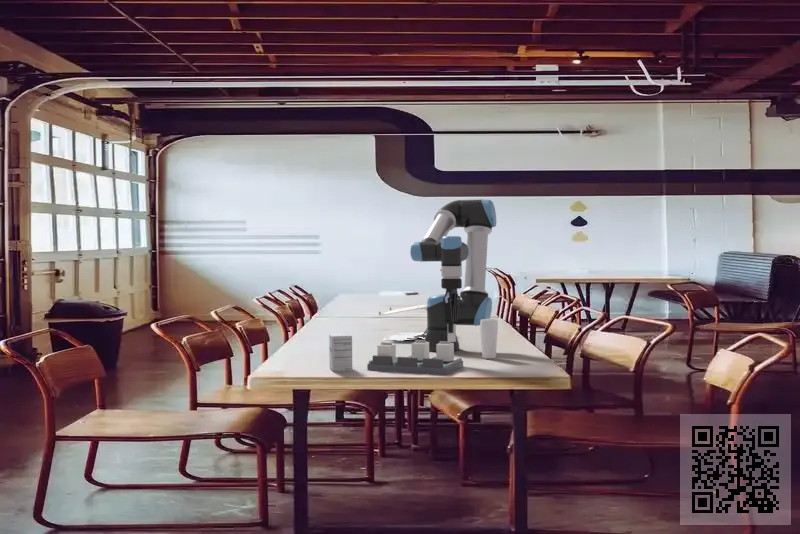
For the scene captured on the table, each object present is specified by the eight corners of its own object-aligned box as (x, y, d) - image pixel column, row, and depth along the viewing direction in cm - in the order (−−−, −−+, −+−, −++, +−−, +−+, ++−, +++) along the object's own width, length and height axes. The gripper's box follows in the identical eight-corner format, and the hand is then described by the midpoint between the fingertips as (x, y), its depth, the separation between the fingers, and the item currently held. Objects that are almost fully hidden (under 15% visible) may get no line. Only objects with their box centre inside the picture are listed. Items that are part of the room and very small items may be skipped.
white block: (383, 360, 273) (382, 341, 272) (395, 360, 271) (395, 342, 271) (377, 362, 268) (377, 343, 268) (390, 362, 266) (390, 343, 266)
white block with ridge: (416, 357, 278) (416, 339, 277) (429, 358, 276) (429, 339, 276) (411, 359, 273) (411, 341, 273) (424, 360, 271) (424, 341, 271)
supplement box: (329, 368, 271) (328, 333, 270) (349, 367, 272) (349, 332, 272) (332, 372, 263) (331, 336, 263) (352, 371, 265) (352, 335, 265)
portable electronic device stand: (428, 342, 339) (428, 307, 338) (378, 341, 344) (377, 307, 344) (438, 335, 364) (438, 303, 363) (391, 334, 369) (391, 302, 368)
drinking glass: (490, 360, 286) (490, 320, 285) (476, 358, 291) (476, 319, 290) (501, 358, 291) (501, 319, 290) (487, 356, 295) (487, 318, 295)
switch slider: (440, 358, 274) (440, 340, 274) (453, 359, 272) (453, 340, 272) (436, 361, 270) (436, 342, 269) (449, 361, 268) (449, 342, 267)
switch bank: (387, 361, 284) (386, 348, 284) (463, 366, 273) (463, 352, 272) (367, 369, 267) (367, 355, 267) (447, 374, 256) (447, 360, 256)
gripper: (447, 277, 285) (447, 339, 285) (436, 278, 273) (436, 343, 273) (466, 277, 282) (466, 340, 282) (455, 278, 270) (455, 344, 270)
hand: (451, 341), depth 278 cm, fingers closed
